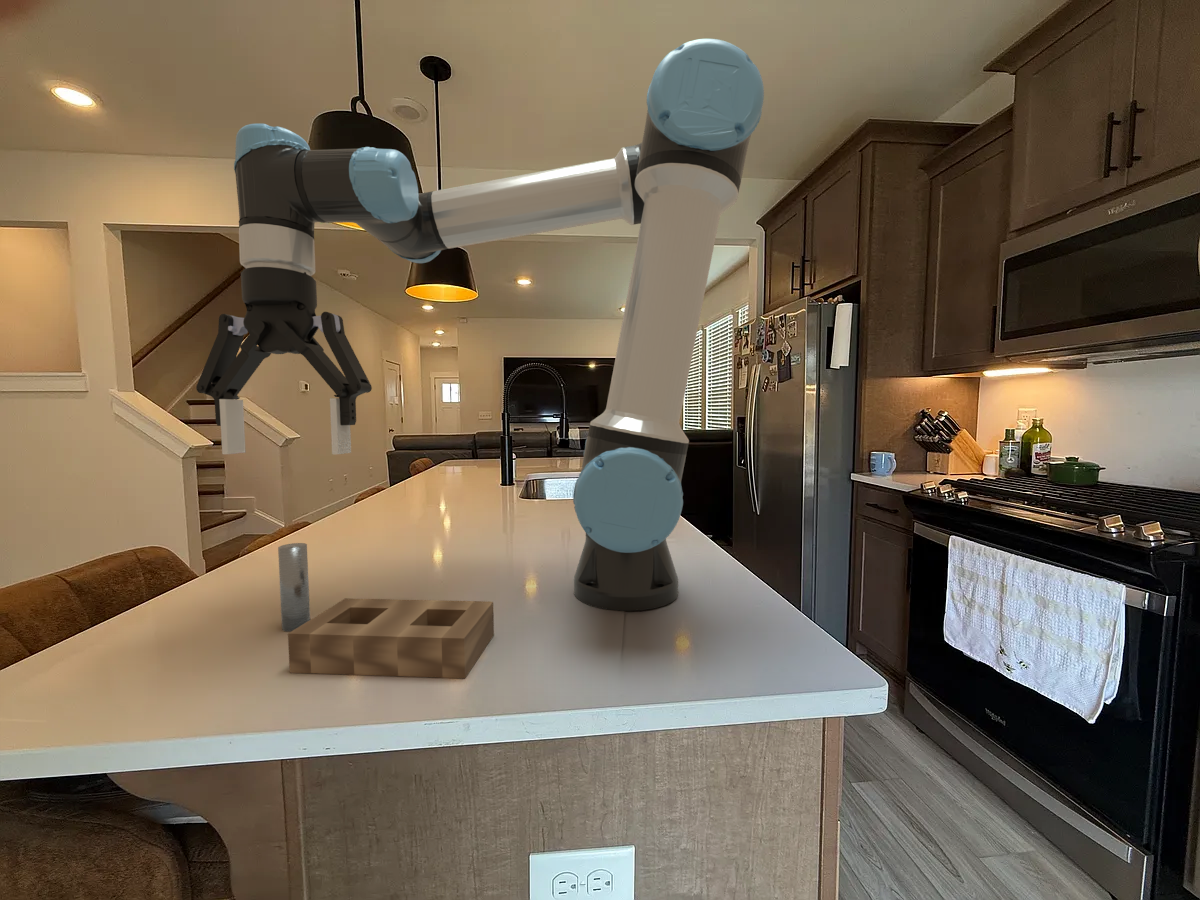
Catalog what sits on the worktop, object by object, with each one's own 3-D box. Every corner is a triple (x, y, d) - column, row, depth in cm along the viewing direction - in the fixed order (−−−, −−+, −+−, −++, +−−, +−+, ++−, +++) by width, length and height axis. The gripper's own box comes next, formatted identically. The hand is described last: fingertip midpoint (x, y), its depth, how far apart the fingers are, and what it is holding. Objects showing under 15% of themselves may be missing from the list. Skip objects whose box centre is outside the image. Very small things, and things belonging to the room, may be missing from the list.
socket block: (493, 635, 60) (493, 601, 60) (464, 678, 50) (464, 638, 50) (346, 631, 61) (345, 598, 61) (289, 672, 51) (287, 633, 51)
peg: (315, 621, 64) (312, 543, 64) (299, 631, 61) (296, 549, 61) (292, 621, 65) (289, 542, 64) (276, 631, 62) (272, 549, 61)
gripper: (397, 278, 63) (402, 451, 64) (206, 284, 65) (215, 451, 66) (364, 260, 56) (371, 455, 57) (150, 266, 57) (161, 455, 59)
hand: (287, 453), depth 62 cm, fingers open, 13 cm apart
